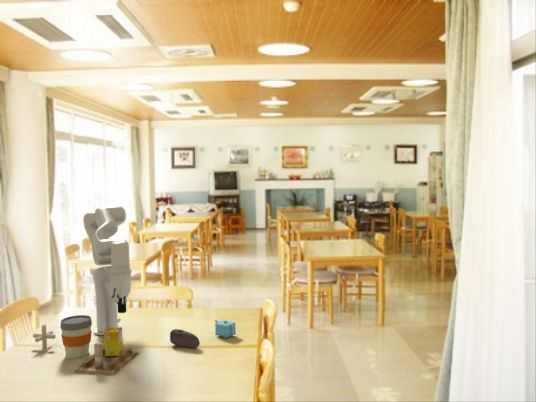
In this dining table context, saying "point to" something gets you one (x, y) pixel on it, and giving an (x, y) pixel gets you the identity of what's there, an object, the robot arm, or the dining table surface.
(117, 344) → the supplement box
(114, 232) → the robot arm
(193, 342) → the perforated stone tool
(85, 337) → the reusable coffee cup
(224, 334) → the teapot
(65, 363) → the dining table surface
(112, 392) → the dining table surface
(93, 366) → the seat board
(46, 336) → the pipe connector
